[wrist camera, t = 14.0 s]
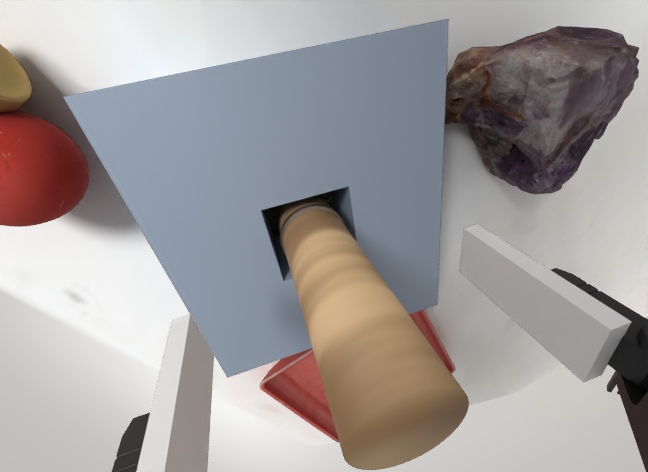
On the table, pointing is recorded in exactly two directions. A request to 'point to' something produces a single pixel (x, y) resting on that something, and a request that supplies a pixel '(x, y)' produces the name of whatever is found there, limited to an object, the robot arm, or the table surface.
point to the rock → (541, 101)
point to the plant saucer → (306, 384)
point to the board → (281, 174)
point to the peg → (365, 345)
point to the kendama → (34, 157)
